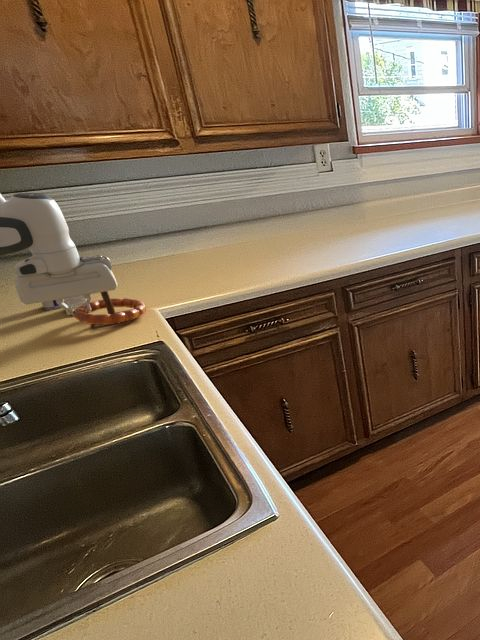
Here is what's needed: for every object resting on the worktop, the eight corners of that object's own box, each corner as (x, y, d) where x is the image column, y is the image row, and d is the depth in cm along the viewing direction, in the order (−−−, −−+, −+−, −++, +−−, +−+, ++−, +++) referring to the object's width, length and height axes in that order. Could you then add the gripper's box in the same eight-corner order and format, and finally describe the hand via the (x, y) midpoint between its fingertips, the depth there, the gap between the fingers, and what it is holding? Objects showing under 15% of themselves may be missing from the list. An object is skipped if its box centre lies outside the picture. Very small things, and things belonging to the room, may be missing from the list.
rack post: (95, 332, 134) (80, 294, 130) (96, 321, 141) (82, 284, 136) (135, 324, 139) (122, 287, 134) (134, 314, 145) (121, 278, 141)
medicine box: (92, 313, 147) (80, 284, 143) (73, 317, 144) (61, 288, 140) (84, 306, 152) (73, 278, 148) (66, 311, 149) (54, 282, 145)
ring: (73, 328, 129) (71, 319, 128) (77, 309, 141) (75, 300, 140) (147, 320, 137) (146, 312, 136) (145, 302, 149) (143, 294, 148)
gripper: (108, 250, 135) (125, 300, 142) (9, 264, 126) (33, 317, 132) (107, 256, 131) (126, 307, 137) (4, 271, 121) (29, 325, 128)
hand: (79, 312), depth 135 cm, fingers closed on ring, 2 cm apart
